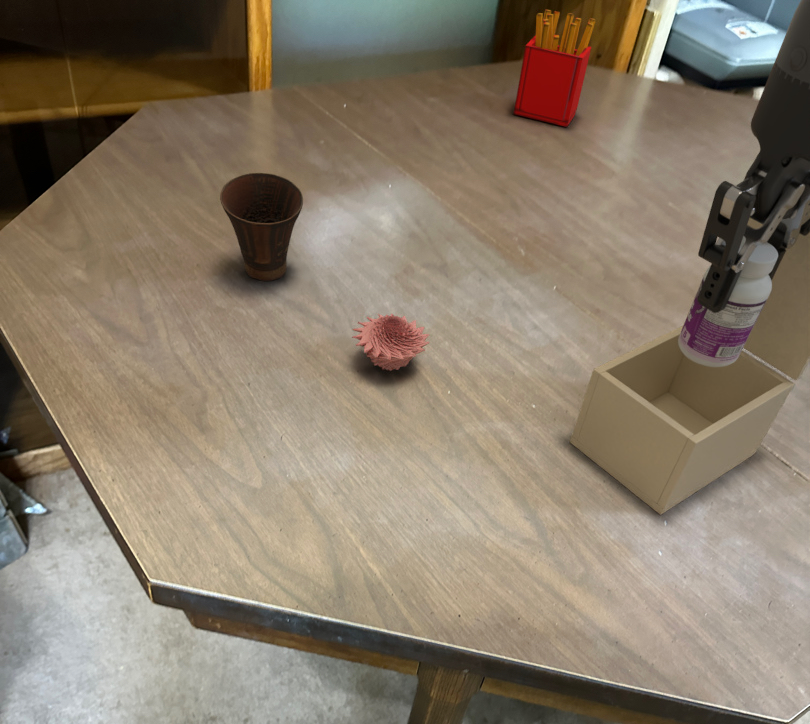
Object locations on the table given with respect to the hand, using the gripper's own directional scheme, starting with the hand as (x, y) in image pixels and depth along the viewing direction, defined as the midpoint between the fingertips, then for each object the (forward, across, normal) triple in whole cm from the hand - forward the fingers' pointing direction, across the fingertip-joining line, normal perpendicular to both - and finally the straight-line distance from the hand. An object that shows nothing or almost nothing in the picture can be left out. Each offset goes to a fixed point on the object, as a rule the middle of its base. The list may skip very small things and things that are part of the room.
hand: (732, 295), depth 63 cm
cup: (+17, -17, +46) cm, 52 cm away
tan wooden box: (+17, 0, 0) cm, 17 cm away
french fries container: (+17, +48, +65) cm, 83 cm away
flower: (+17, -15, +25) cm, 34 cm away
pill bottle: (+6, 0, 0) cm, 6 cm away
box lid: (0, +7, 0) cm, 7 cm away
